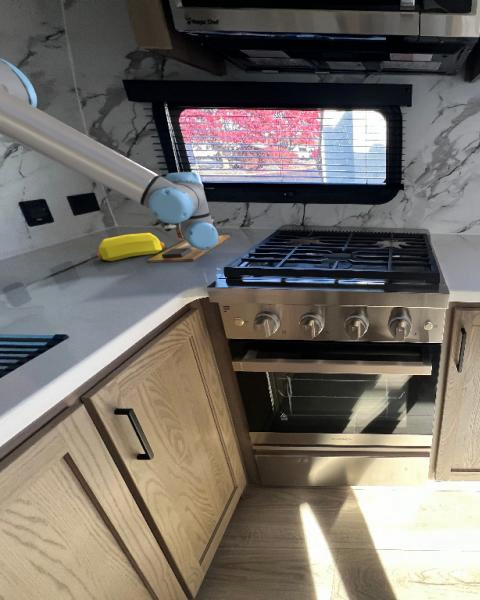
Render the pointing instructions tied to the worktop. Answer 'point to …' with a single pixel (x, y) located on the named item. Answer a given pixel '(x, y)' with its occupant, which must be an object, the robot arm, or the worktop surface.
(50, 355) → the worktop surface
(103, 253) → the yellow bevelled bar
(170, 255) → the brown wooden board
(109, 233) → the worktop surface
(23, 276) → the worktop surface
